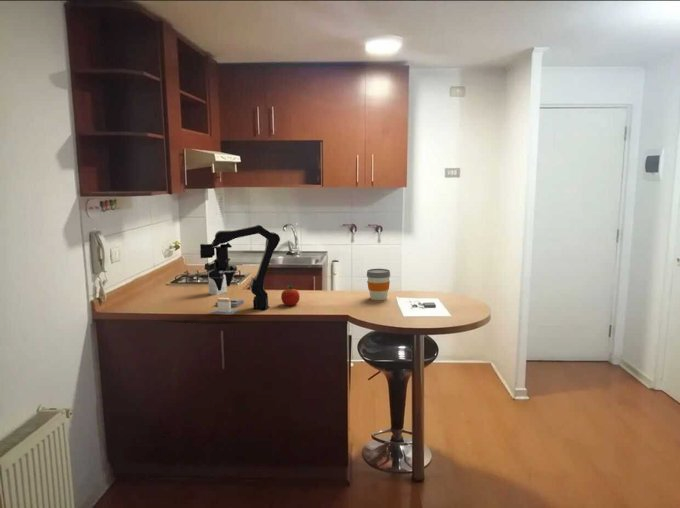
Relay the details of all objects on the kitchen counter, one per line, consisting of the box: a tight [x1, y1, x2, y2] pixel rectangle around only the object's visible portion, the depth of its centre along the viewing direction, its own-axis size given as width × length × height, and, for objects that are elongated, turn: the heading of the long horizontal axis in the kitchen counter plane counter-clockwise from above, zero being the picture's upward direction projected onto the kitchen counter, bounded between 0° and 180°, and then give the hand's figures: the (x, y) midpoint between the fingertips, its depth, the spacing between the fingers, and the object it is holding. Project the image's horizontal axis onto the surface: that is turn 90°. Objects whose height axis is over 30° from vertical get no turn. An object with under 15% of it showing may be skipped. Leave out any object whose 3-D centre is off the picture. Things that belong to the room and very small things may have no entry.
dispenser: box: [215, 299, 245, 308], centre depth 261 cm, size 12×8×2 cm, turn 75°
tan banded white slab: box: [217, 297, 232, 312], centre depth 247 cm, size 6×2×6 cm, turn 75°
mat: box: [209, 308, 240, 316], centre depth 248 cm, size 12×8×1 cm, turn 75°
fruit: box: [280, 285, 300, 307], centre depth 259 cm, size 10×10×10 cm
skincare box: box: [207, 270, 228, 296], centre depth 287 cm, size 8×7×16 cm
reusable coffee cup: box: [366, 268, 391, 301], centre depth 269 cm, size 13×13×15 cm
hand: (224, 288), depth 247 cm, fingers open, 9 cm apart
